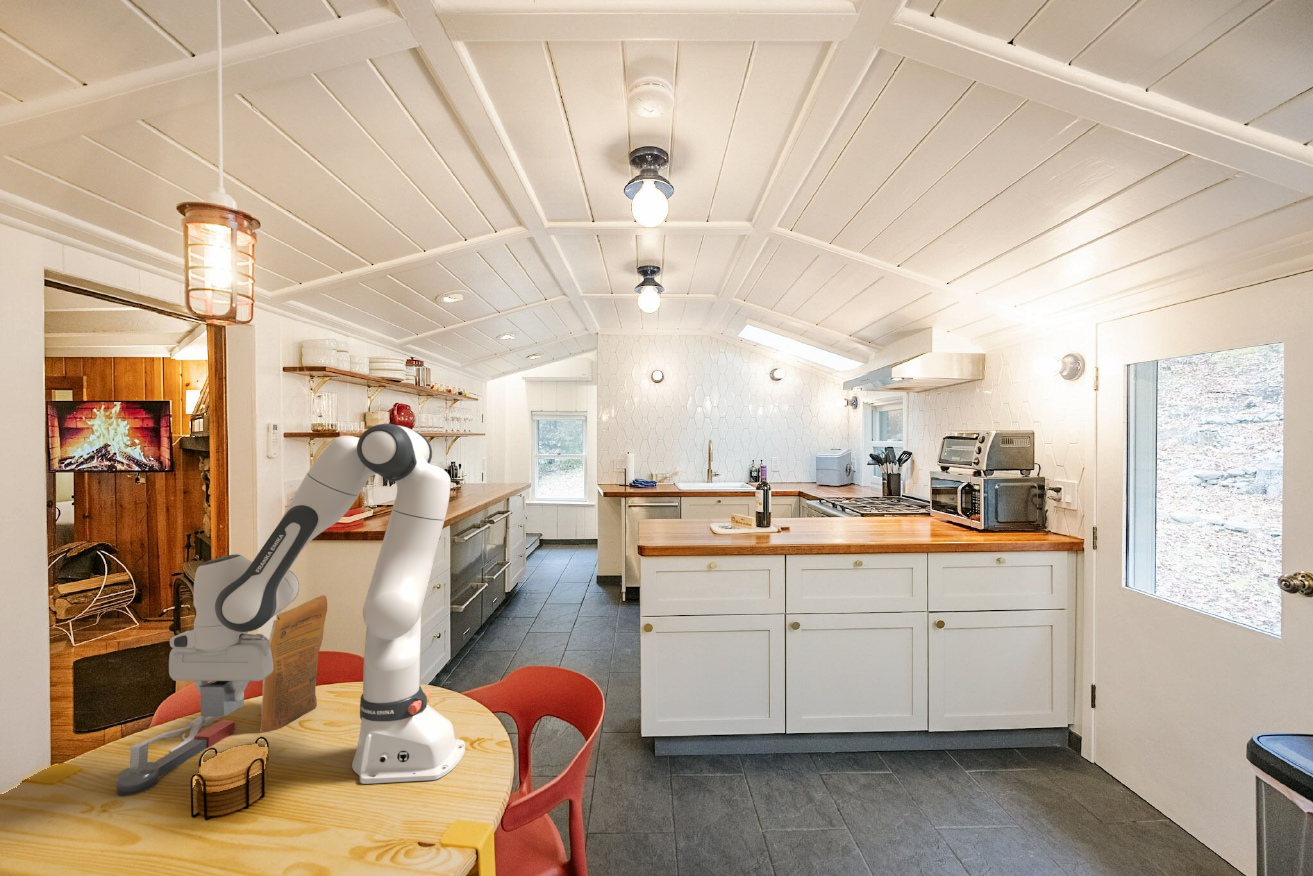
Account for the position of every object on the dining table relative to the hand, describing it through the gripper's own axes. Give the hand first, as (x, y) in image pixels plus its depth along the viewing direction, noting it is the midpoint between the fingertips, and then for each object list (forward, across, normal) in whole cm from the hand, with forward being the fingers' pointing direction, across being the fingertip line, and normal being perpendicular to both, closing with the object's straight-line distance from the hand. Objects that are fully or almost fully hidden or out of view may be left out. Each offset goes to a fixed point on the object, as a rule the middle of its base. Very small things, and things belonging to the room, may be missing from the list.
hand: (222, 700), depth 116 cm
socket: (+2, 0, 0) cm, 2 cm away
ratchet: (+13, +10, -1) cm, 17 cm away
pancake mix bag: (+14, 0, -21) cm, 25 cm away
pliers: (+14, +19, -11) cm, 26 cm away
